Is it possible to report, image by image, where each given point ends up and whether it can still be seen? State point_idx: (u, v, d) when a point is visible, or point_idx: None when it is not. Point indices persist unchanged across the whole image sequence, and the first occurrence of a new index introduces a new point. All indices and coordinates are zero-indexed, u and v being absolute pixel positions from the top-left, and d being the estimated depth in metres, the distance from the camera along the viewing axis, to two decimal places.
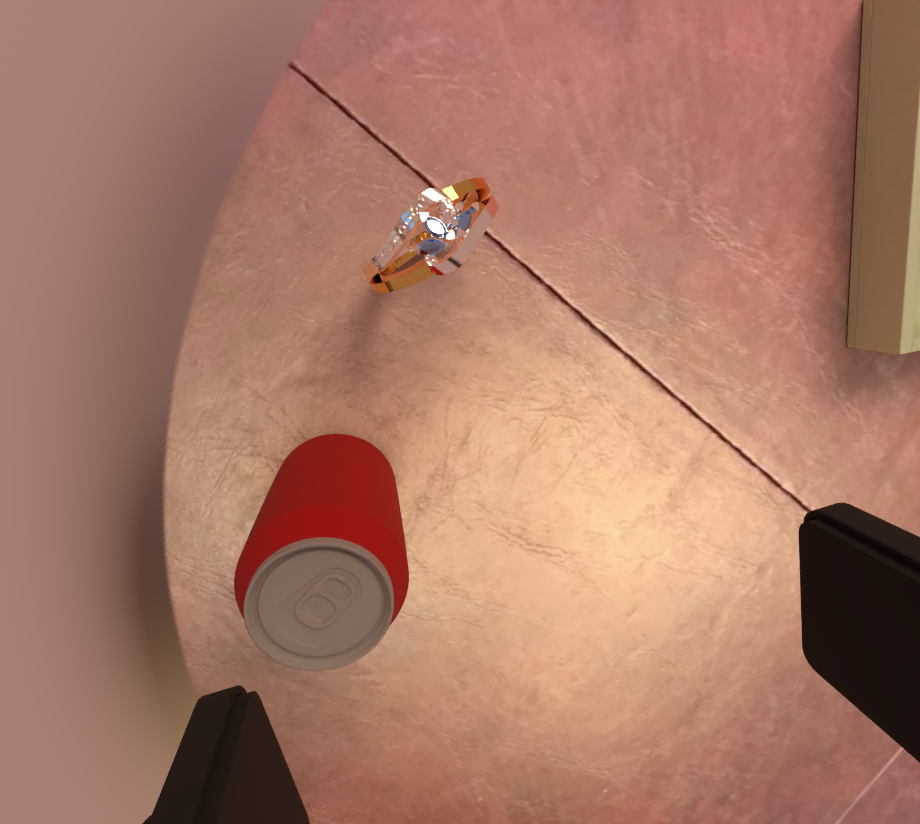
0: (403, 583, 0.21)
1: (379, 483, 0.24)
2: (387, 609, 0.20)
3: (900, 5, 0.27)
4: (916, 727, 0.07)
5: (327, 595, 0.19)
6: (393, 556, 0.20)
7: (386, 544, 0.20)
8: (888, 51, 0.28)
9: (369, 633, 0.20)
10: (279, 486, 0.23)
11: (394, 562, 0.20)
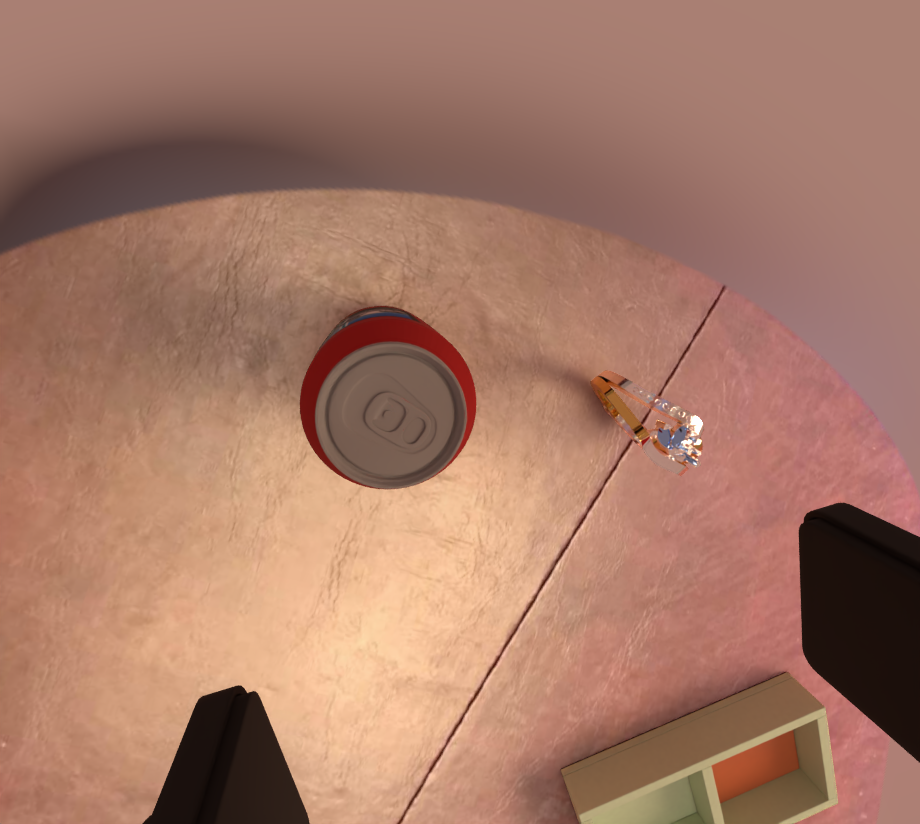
0: None
1: None
2: (393, 482, 0.19)
3: (795, 699, 0.39)
4: (916, 727, 0.07)
5: (404, 421, 0.19)
6: None
7: (448, 463, 0.20)
8: (767, 703, 0.39)
9: (360, 468, 0.19)
10: None
11: None
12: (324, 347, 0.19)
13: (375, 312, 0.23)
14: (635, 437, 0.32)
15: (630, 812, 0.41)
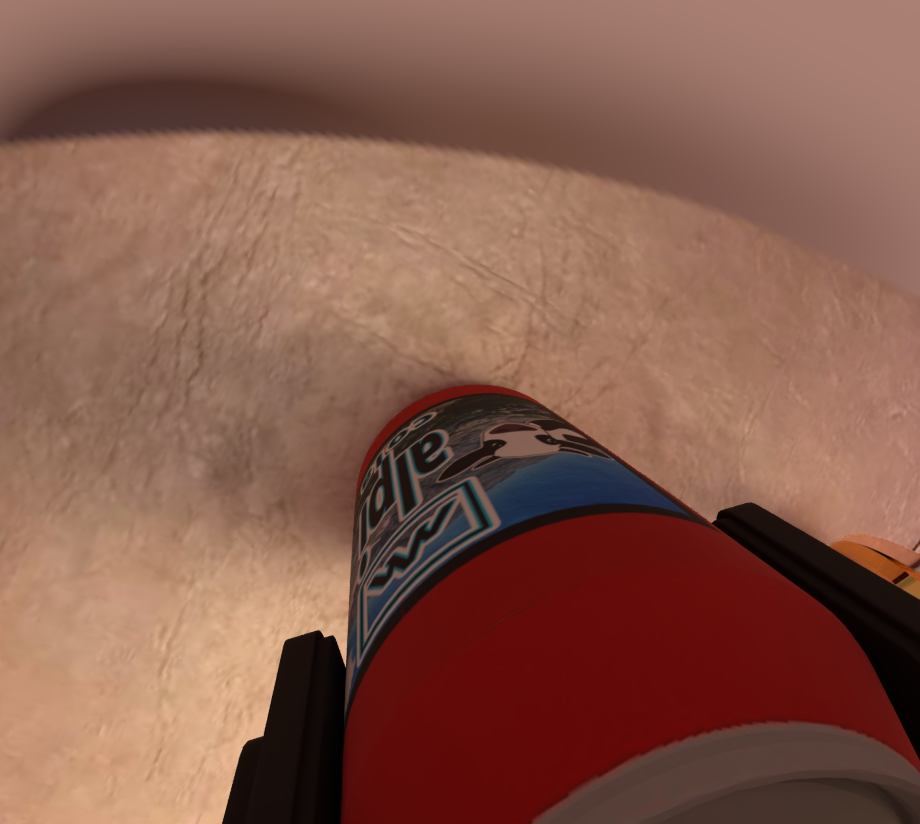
0: None
1: None
2: None
3: None
4: None
5: None
6: None
7: None
8: None
9: None
10: None
11: None
12: (459, 662, 0.05)
13: (538, 448, 0.09)
14: None
15: None
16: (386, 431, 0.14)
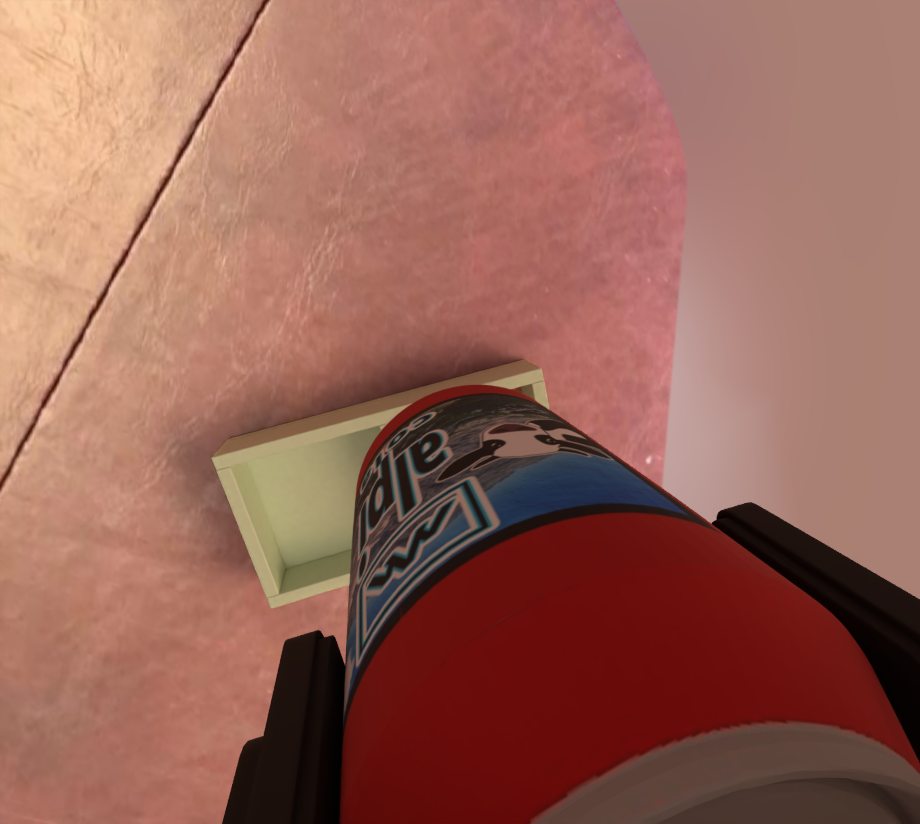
0: None
1: None
2: None
3: (515, 369, 0.32)
4: None
5: None
6: None
7: None
8: (484, 375, 0.33)
9: None
10: None
11: None
12: (458, 662, 0.05)
13: (537, 448, 0.09)
14: None
15: (322, 514, 0.34)
16: (386, 431, 0.14)
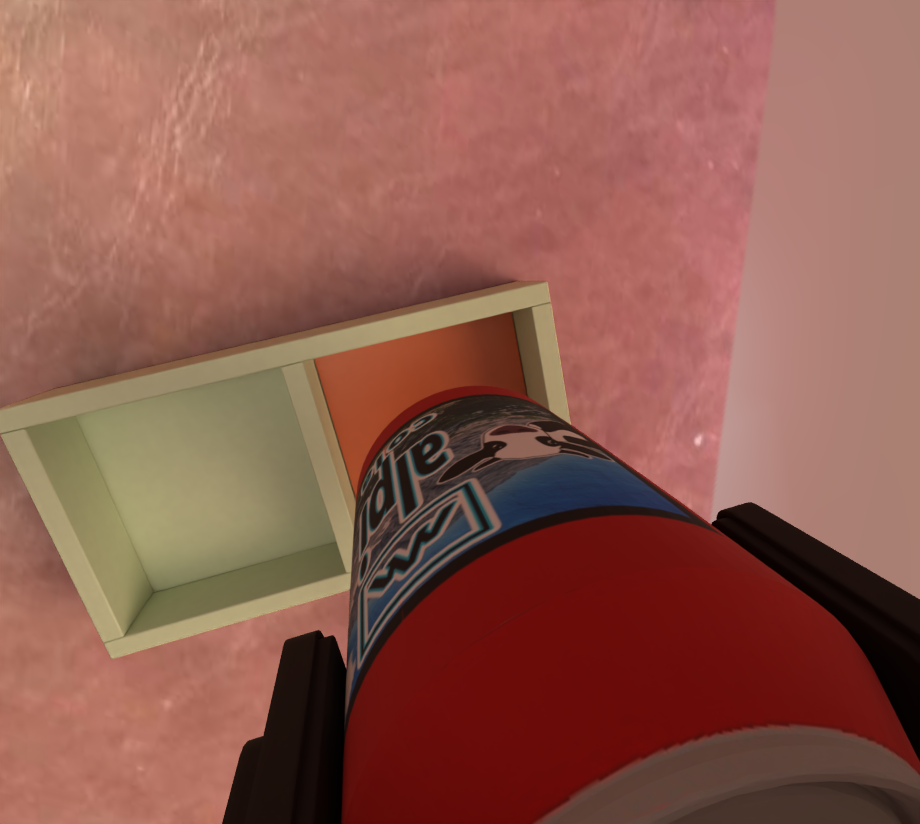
0: None
1: None
2: None
3: (506, 287, 0.21)
4: None
5: None
6: None
7: None
8: (456, 298, 0.21)
9: None
10: None
11: None
12: (460, 665, 0.05)
13: (538, 450, 0.09)
14: None
15: (207, 510, 0.22)
16: (386, 432, 0.14)
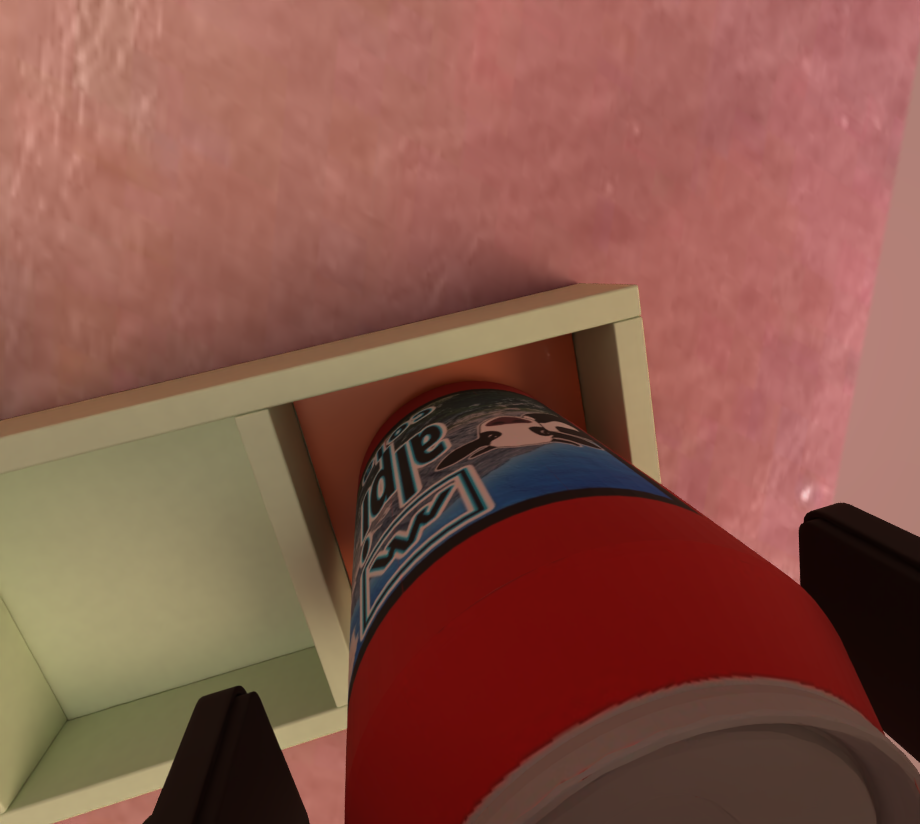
0: None
1: None
2: None
3: (570, 293, 0.14)
4: (916, 727, 0.07)
5: None
6: None
7: None
8: (497, 308, 0.14)
9: None
10: None
11: None
12: (455, 628, 0.05)
13: (532, 439, 0.09)
14: None
15: (141, 608, 0.16)
16: (387, 425, 0.14)
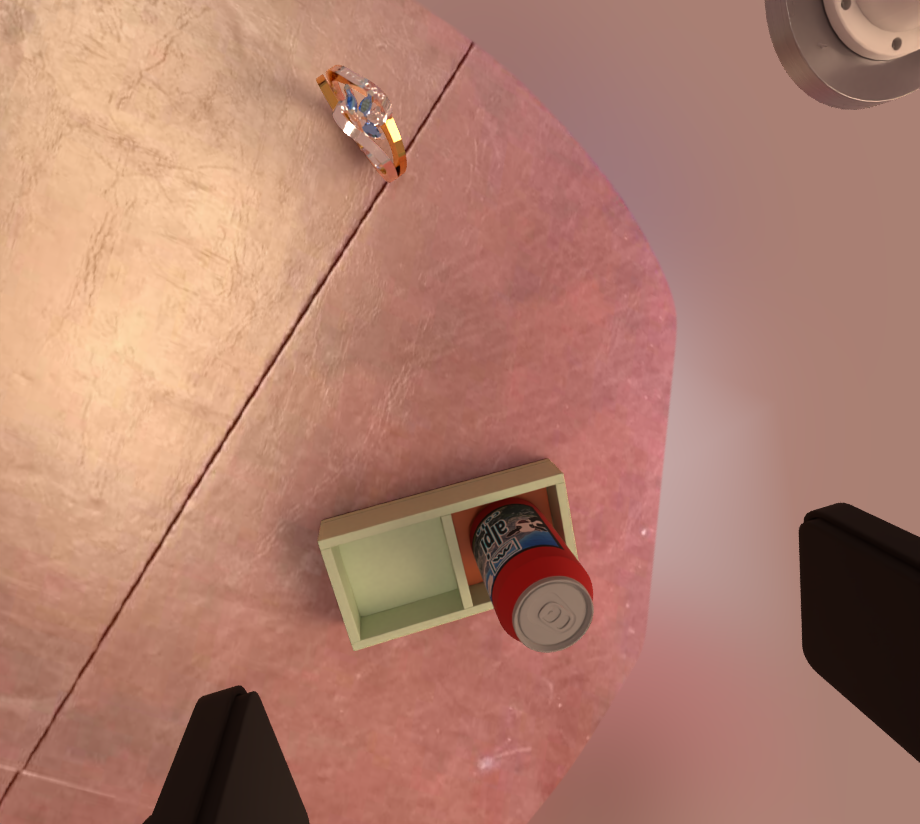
0: None
1: None
2: (547, 648, 0.34)
3: (542, 471, 0.42)
4: (916, 727, 0.07)
5: (558, 617, 0.34)
6: None
7: None
8: (518, 474, 0.43)
9: (531, 640, 0.34)
10: (562, 540, 0.38)
11: None
12: (517, 570, 0.34)
13: (529, 529, 0.37)
14: (377, 166, 0.35)
15: (390, 576, 0.44)
16: (481, 514, 0.42)
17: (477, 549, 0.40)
